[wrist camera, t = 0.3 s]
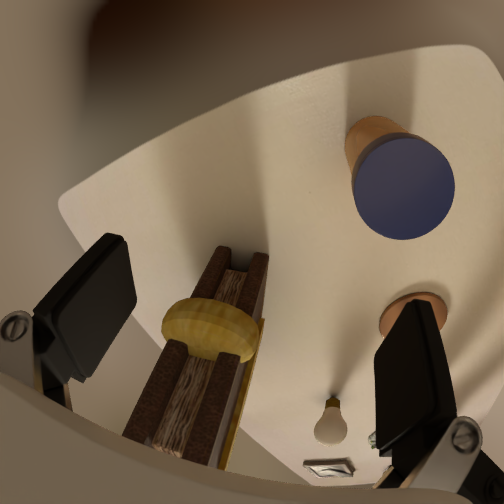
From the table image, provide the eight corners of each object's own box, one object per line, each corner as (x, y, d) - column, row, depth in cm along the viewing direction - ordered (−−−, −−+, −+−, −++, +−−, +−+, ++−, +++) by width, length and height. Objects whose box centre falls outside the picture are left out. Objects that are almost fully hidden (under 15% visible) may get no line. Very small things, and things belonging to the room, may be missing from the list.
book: (263, 355, 46) (224, 506, 25) (211, 344, 47) (157, 487, 27) (281, 235, 33) (218, 474, 13) (207, 224, 34) (86, 425, 14)
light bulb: (316, 404, 52) (311, 449, 44) (318, 389, 49) (312, 439, 41) (346, 405, 51) (344, 450, 43) (350, 390, 48) (348, 440, 39)
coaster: (431, 279, 32) (432, 282, 31) (454, 322, 35) (455, 325, 34) (366, 316, 37) (366, 319, 37) (397, 351, 40) (397, 354, 39)
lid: (412, 111, 15) (421, 115, 14) (461, 193, 17) (470, 203, 16) (330, 172, 19) (331, 181, 17) (386, 243, 21) (390, 257, 19)
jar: (382, 102, 23) (416, 120, 14) (420, 156, 25) (463, 200, 16) (330, 142, 26) (337, 179, 18) (370, 191, 28) (390, 248, 20)
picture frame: (353, 472, 79) (345, 459, 71) (352, 477, 77) (344, 465, 69) (317, 474, 84) (303, 461, 76) (316, 478, 82) (302, 467, 74)
